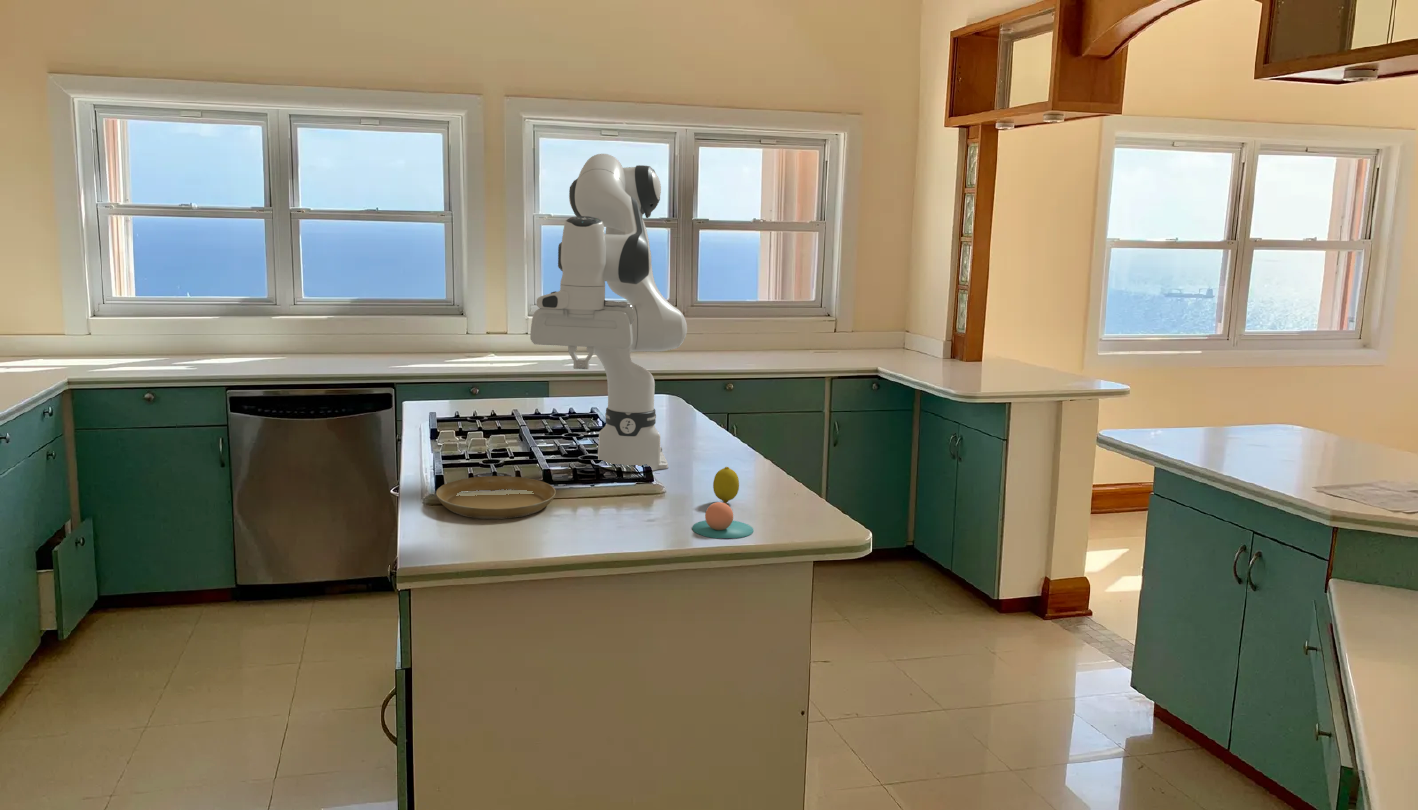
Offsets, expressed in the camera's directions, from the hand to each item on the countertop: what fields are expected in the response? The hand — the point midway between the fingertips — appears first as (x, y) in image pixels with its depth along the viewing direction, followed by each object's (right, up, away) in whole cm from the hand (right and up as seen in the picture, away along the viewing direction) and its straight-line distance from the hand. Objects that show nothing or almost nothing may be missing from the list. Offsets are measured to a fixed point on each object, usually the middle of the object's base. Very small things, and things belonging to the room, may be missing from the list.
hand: (581, 368), depth 206 cm
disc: (+28, -32, -5) cm, 43 cm away
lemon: (+29, -29, +14) cm, 43 cm away
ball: (+28, -29, -5) cm, 40 cm away
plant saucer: (-18, -28, +6) cm, 34 cm away
